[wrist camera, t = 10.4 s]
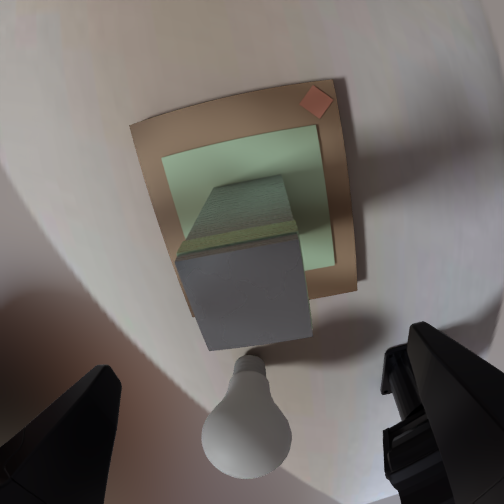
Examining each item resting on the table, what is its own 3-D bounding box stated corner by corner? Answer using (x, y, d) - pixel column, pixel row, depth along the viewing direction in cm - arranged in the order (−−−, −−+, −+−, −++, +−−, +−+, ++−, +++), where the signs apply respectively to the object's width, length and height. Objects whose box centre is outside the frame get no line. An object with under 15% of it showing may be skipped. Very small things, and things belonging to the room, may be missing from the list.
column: (293, 237, 19) (314, 337, 11) (228, 249, 20) (208, 352, 12) (281, 173, 17) (299, 237, 9) (212, 187, 18) (172, 260, 10)
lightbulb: (283, 329, 24) (292, 454, 14) (288, 378, 27) (294, 487, 17) (207, 334, 25) (184, 455, 15) (221, 382, 27) (209, 488, 18)
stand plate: (353, 283, 22) (358, 292, 21) (194, 309, 23) (192, 318, 22) (329, 80, 16) (333, 79, 15) (135, 124, 17) (128, 125, 16)
